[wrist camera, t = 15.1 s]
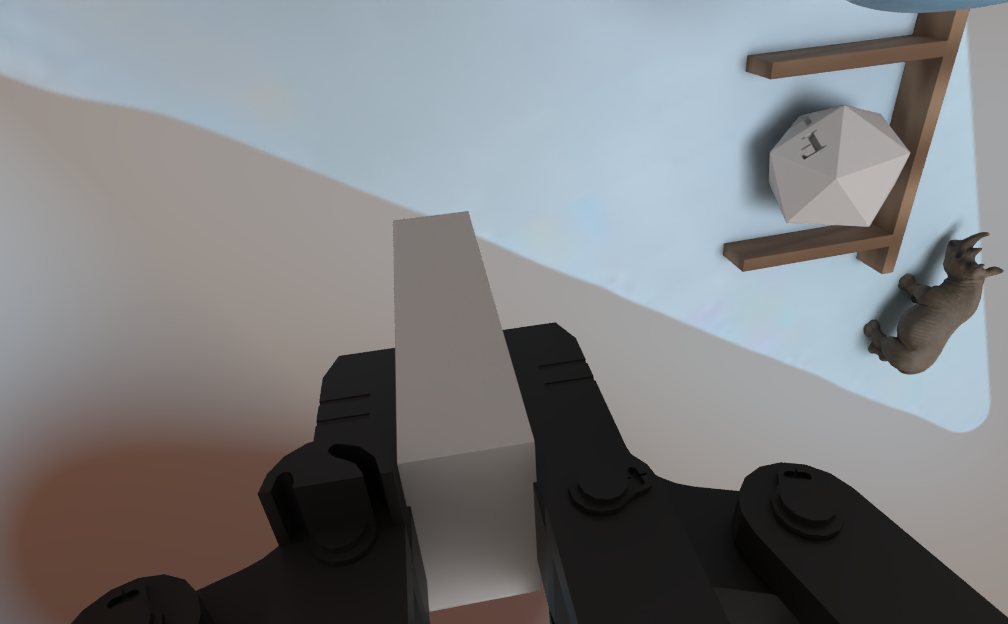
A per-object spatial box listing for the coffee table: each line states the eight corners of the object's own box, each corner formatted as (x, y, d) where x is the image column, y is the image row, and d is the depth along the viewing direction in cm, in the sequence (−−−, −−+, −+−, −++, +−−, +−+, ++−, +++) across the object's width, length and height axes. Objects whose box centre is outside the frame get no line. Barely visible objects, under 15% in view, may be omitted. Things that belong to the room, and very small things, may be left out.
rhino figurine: (975, 225, 53) (1040, 255, 48) (878, 353, 58) (927, 392, 53) (943, 213, 51) (1007, 242, 46) (848, 345, 57) (895, 384, 52)
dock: (752, 14, 40) (779, 19, 37) (936, -7, 41) (973, -4, 39) (719, 282, 50) (738, 299, 48) (867, 256, 52) (892, 272, 49)
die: (854, 77, 44) (866, 78, 36) (918, 176, 44) (943, 199, 36) (749, 146, 48) (739, 160, 40) (808, 235, 49) (809, 268, 41)
